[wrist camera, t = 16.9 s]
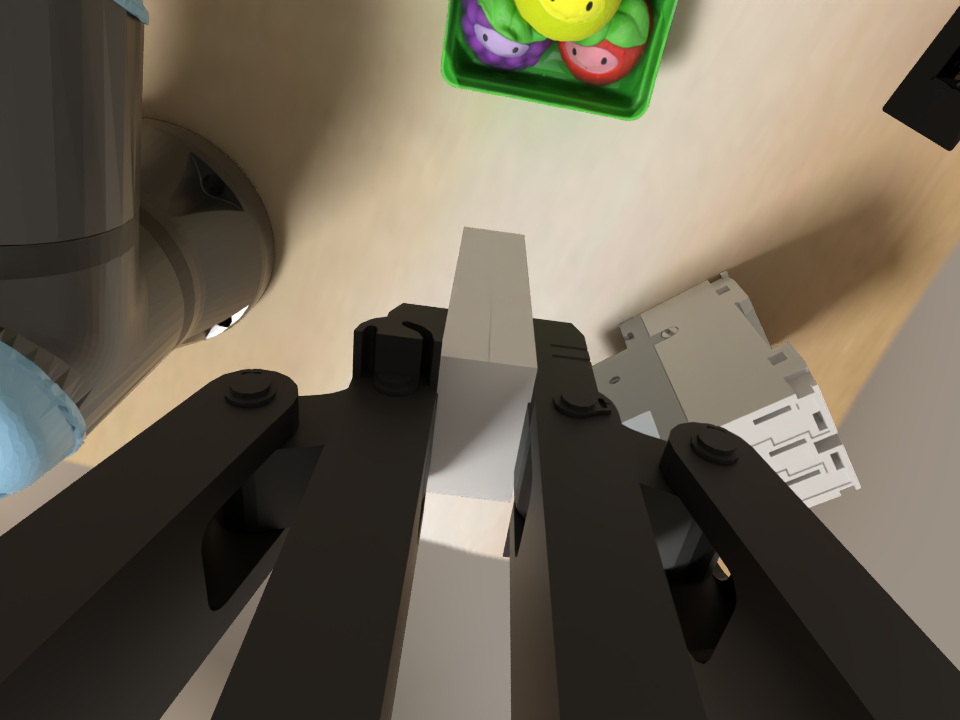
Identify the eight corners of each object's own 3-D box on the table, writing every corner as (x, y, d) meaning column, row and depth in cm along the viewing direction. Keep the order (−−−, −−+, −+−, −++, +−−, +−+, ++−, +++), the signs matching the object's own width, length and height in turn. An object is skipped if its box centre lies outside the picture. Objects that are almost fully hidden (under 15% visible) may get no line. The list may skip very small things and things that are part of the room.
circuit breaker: (545, 361, 46) (560, 495, 33) (725, 270, 42) (823, 381, 29) (590, 430, 49) (620, 578, 36) (762, 351, 45) (866, 485, 32)
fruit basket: (446, 78, 37) (424, 98, 27) (468, -100, 33) (452, -152, 23) (627, 112, 38) (670, 143, 28) (673, -59, 33) (743, -93, 23)
